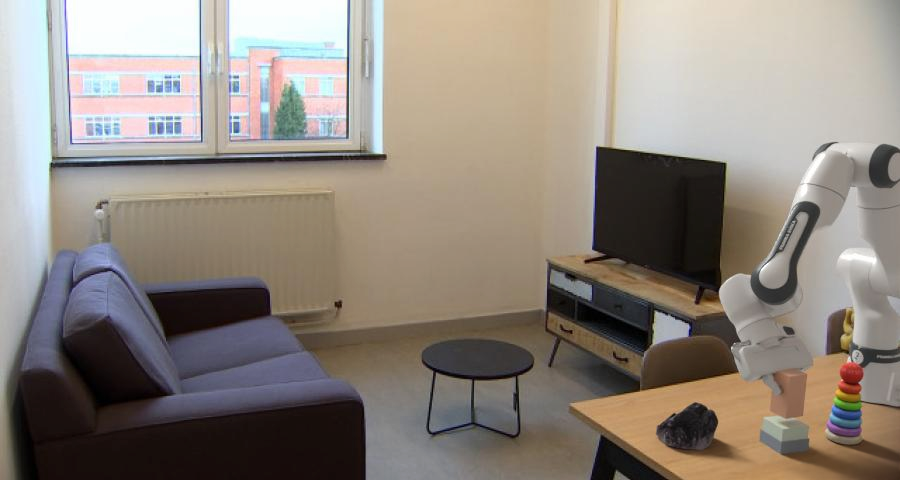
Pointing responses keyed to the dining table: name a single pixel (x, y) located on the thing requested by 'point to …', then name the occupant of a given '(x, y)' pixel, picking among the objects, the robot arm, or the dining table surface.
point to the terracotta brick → (789, 393)
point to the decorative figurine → (848, 330)
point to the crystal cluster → (689, 428)
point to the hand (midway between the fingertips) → (790, 392)
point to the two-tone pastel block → (784, 434)
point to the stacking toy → (847, 407)
